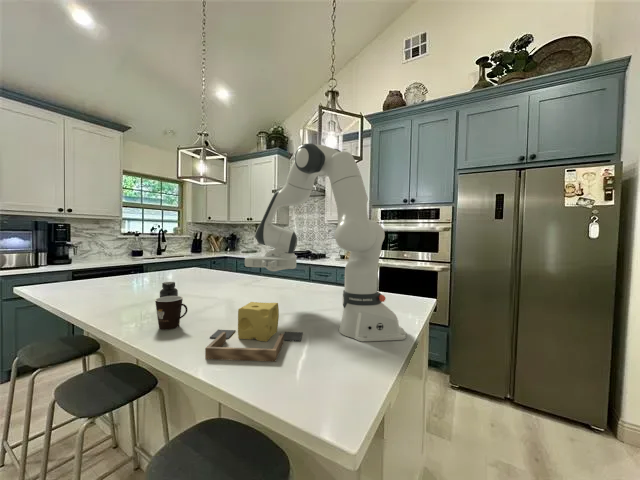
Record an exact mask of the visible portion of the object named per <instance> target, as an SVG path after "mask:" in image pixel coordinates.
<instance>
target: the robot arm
mask: <svg viewBox="0 0 640 480" xmlns="http://www.w3.org/2000/svg"><path fill="white" fill-rule="evenodd" d="M295 151H296V152H295V155H294V160H293V162H292V165H291V167H290V168H289V169H290V170H289V172H288V174H287V178H286V181H285V184H284V185H283V187H282V188H281V189H279V190H278V189H277V190H276V191H275V193H274V194H273V195H272V197H271V199H270V202H269V203H268V206H267V208H266V210H265V213H264V215H263V217H262V220H261V222H260V223H259V225H258V227H257V228H256V231H255V236H254V238H255V241H256V242H257V243H258V244H259V245H263V246H266V247H267V246H268V247H270V248H272V249H271V250H269V251H267V252H266V253H265V254H264V256H260V255H259V256H247V257H245V258H244V266H245V267H247V268H265V269H267V270H268V271H269V272H278V271H282V270H283V271H284V270H294V269H296V268H297V255H296V254H295V251H296V247H297V244H298V237H297V234H296V232H295V231H293V230H289V229H287V228H283V227H280V226H278V225H275V224H274V223H273V221H274V219H275V216H276V214H277V211H278V210H279V208H283V207H295V206H296V207H297V206H301V205H303V204H305V203H306V202H308V201H309V198H310V196H311V194H312V191H313V188H314V184H315V180H316V178H317V177H328V178H329V183H330V187H331V190H332V194H333V197H334V202H335V205H336V210H337V211H336V212H337V213H336V214H337V226H336V229H335V232H334V239H335V242H336V244H337V245H338V246H339V248H341V249H343V250H345V251H347V252H349V253H350V254H349V258H348V261H347V264H346V265H345V267H344V289H343V290H342V308H343V309H342V310H343V311H342V315H341V316H342V317H341V321H340V325H339V329H338V332H339V333H340V334H341V335H343V336H345V337H348V338H352V339H355V340H357V341H358V342H378V341H381V342H382V341H403V340H405V339H406V337H407V333H406V331H405V329H404V328H403V327H402V326H400V324H399V320H398V316H397V315H396V314H395V312H394V311H393V310H391V309H390V308H389V307H388V306H386V305H385V304H384V303H383V302H385V301H386V296H385V295H384V294H382V293H380V292H379V291H377V288H378V267H379V261H380V256H381V253H382V245H383V244H384V243H383V242H384V240H385V237H386V235H385V234H386V233H385V230H384V228H383V227H382V225H381V224H380V223H378V222H377V221H375V220H372V219H369V216H368V215H369V214H368V200H369V199H368V194H367V190H366V188H365V185H364V181H363V177H362V174H361V172H360V167H358V164H357V162H356V160H355V157H354V156H353V155H352V153H351V152H349V151H345V150H344V151H341V150H340V149H337V148H333V147H330V146H327V145H324V144H315V143H311V142H310V143H303V144H301V145H300V146H298V147H297V149H296V150H295ZM273 248H274V249H273Z"/></svg>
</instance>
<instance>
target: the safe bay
mask: <svg viewBox="0 0 640 480" xmlns="http://www.w3.org/2000/svg"><path fill="white" fill-rule="evenodd" d="M226 342H227V339H226V332H222V333H221V334H220V335H219V336H218V337H217V338H216V339H214V340H212V341H211V342H209V344H208V345H206V347H205V351H204V352H205V353H204V354H205V356H204V357H205V360H214V361H215V360H217V361H218V360H219V361H221V360H224V361H243V362H244V361H247V362H249V361H250V362H274V363H276V362H277V359H278V357H279V355H280V352H281V350H282V347H283V346H284V333H280V334H279V336H278V337H277V339H276V342H275V343H274V346H273V347H272V348H262V347H261V348H257V347H256V348H255V347H233V346H232V347H231V346H230V347H229V346H228V347H226V346H223V345H224V344H226Z"/></svg>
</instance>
